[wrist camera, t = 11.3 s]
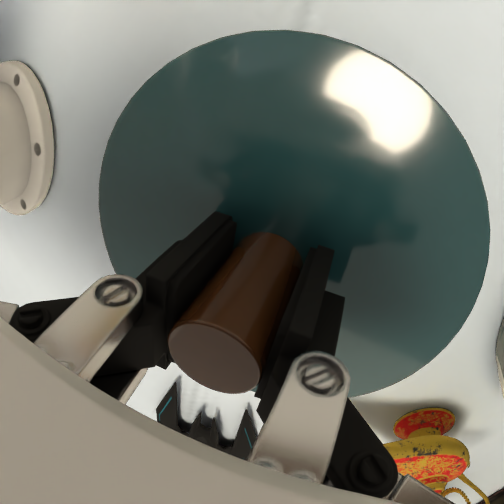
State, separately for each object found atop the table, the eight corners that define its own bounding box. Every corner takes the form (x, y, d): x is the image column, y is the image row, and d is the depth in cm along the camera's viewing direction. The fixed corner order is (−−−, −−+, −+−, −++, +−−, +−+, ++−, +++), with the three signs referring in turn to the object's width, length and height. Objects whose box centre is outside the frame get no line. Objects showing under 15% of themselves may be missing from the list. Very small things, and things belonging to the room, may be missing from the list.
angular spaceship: (161, 432, 33) (150, 451, 31) (153, 361, 25) (135, 386, 23) (249, 468, 31) (240, 489, 29) (280, 412, 23) (270, 442, 21)
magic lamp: (318, 360, 19) (267, 526, 10) (512, 416, 17) (521, 537, 8) (285, 410, 23) (238, 536, 14) (461, 455, 20) (456, 560, 11)
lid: (123, 315, 17) (60, 383, 12) (128, 23, 9) (-1, 22, 5) (377, 411, 14) (361, 510, 10) (537, 129, 7) (650, 185, 2)
